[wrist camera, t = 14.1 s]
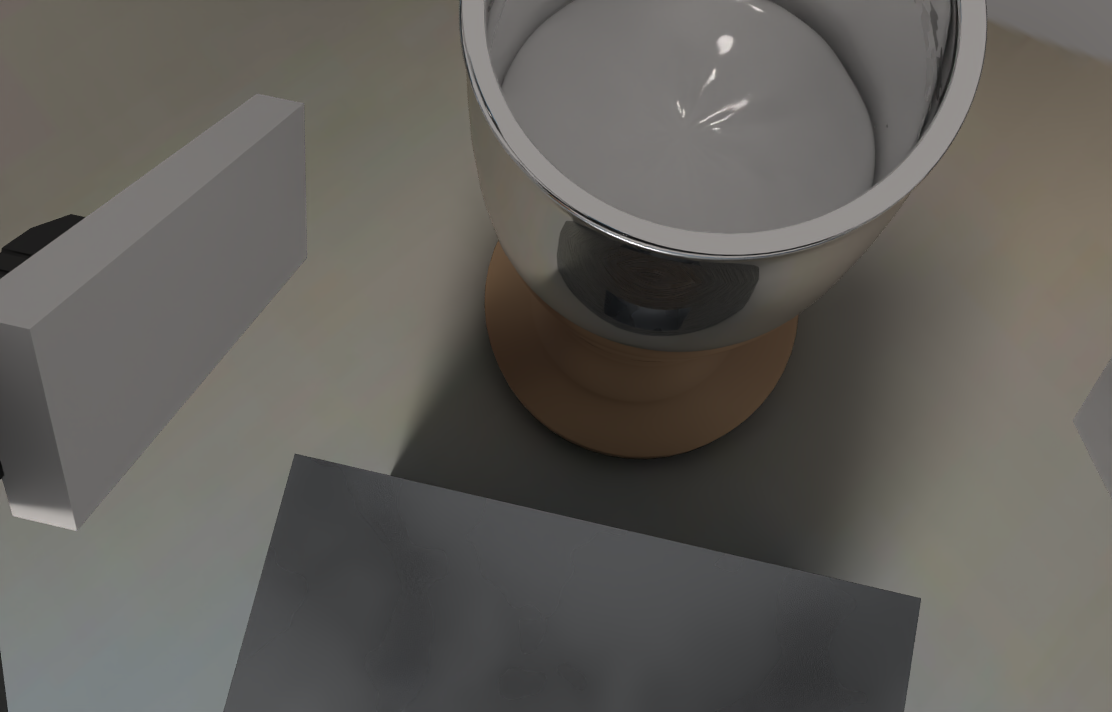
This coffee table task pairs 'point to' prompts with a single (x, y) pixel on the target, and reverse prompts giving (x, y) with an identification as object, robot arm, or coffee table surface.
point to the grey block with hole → (542, 614)
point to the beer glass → (701, 161)
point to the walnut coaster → (619, 422)
